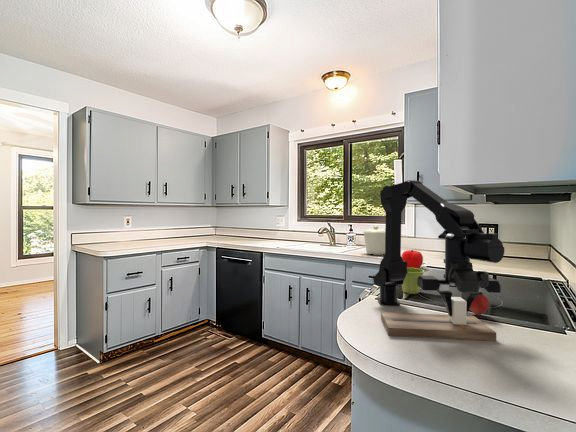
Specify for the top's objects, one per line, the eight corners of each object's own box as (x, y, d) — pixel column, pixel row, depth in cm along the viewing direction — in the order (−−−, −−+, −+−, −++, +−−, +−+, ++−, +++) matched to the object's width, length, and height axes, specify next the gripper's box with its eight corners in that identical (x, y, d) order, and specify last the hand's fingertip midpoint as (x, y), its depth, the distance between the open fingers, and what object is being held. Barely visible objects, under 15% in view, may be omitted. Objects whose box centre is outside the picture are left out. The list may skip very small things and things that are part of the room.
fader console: (381, 319, 89) (381, 311, 89) (473, 323, 86) (473, 315, 86) (388, 335, 77) (388, 326, 77) (496, 340, 74) (496, 331, 74)
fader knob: (448, 318, 83) (448, 296, 83) (460, 319, 82) (460, 297, 82) (454, 324, 79) (454, 301, 79) (466, 324, 78) (466, 301, 78)
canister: (381, 257, 210) (381, 226, 209) (358, 254, 222) (358, 225, 222) (393, 254, 223) (393, 225, 222) (370, 252, 235) (370, 224, 235)
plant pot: (428, 295, 113) (428, 272, 113) (401, 295, 114) (401, 272, 114) (419, 289, 123) (419, 267, 123) (395, 288, 124) (395, 267, 124)
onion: (462, 312, 95) (462, 286, 95) (479, 311, 95) (479, 286, 95) (474, 318, 89) (474, 291, 89) (493, 318, 89) (493, 290, 89)
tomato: (407, 270, 161) (407, 251, 161) (397, 266, 174) (397, 248, 174) (428, 270, 162) (428, 250, 162) (417, 266, 174) (417, 248, 174)
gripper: (429, 261, 74) (429, 326, 74) (514, 262, 71) (513, 329, 71) (416, 254, 85) (416, 311, 85) (490, 255, 82) (489, 314, 82)
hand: (457, 316), depth 81 cm, fingers closed on fader knob, 3 cm apart
